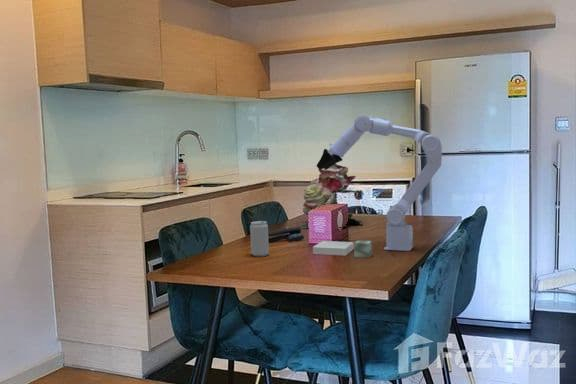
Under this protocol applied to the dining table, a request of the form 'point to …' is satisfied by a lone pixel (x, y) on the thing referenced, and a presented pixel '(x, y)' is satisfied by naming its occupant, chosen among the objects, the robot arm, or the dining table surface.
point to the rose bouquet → (328, 190)
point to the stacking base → (333, 248)
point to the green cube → (363, 249)
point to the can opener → (291, 237)
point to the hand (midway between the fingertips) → (321, 168)
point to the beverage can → (259, 238)
